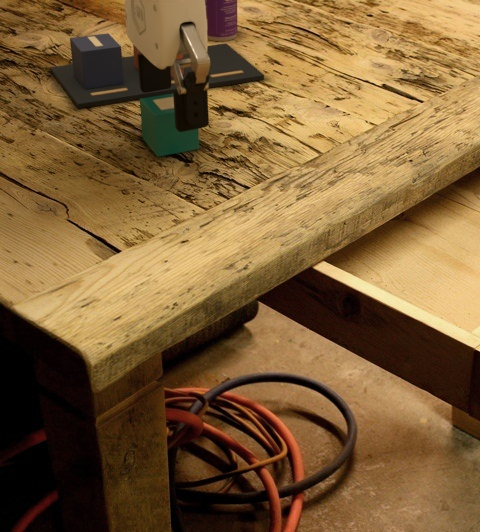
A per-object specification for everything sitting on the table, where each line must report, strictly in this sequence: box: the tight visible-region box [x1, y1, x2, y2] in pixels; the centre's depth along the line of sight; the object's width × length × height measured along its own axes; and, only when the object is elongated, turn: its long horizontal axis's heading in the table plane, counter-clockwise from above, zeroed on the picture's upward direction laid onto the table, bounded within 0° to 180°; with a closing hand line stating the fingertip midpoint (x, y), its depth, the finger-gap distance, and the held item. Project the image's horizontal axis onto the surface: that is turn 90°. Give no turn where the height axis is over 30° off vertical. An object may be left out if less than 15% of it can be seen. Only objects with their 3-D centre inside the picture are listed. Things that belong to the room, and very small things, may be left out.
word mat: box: [49, 43, 265, 109], centre depth 108 cm, size 22×11×1 cm, turn 120°
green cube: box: [139, 94, 200, 158], centre depth 93 cm, size 4×4×4 cm
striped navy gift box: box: [69, 32, 124, 89], centre depth 103 cm, size 4×4×4 cm
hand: (173, 108), depth 92 cm, fingers open, 9 cm apart
